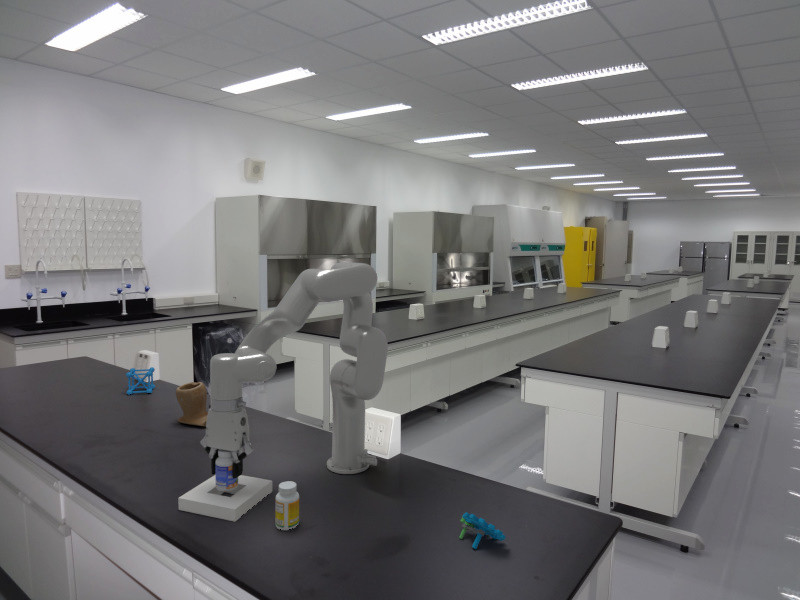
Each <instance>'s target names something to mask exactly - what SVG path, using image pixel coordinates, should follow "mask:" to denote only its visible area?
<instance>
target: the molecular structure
mask: <svg viewBox="0 0 800 600" xmlns="http://www.w3.org/2000/svg"><path fill="white" fill-rule="evenodd" d="M155 370H156V369H155V367H152V366H151V367H149V368H148V369H147V368H146V369H144V368H143V369H136V368H134V367H132V368H130V369H129V371H128V372H126V374H125V376H126V377H127V378H128V379H127V380H128V390H127V391H126V395H127V394H128V396H131V395H133V394H138V393H140V394H142V393H144V394H145V393H146V394H147V393H151V394H153V390H155V388H156V385H155V384H154V373H155ZM136 372H141V373H136ZM143 372H144V373H143ZM145 372H146V373H145ZM139 376H143V377H142V378H141V377H139ZM145 379H147V382H146V381H145ZM135 380H136V381H137V383H136V384H135ZM139 385H142V386H139ZM136 389H146V390H136ZM135 390H136V391H135ZM130 394H131V395H130Z"/></svg>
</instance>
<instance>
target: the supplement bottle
mask: <svg viewBox="0 0 800 600" xmlns="http://www.w3.org/2000/svg"><path fill="white" fill-rule="evenodd" d="M297 488H298V487H297V483H296V481H295V482H294V481H291V480H290V481H288V480H287V481H282V482H280V483H279V484H278V492H277V494H276V495H275V508H274V509H275V512H274V513H275V516H274V517H275V519H274V520H275V521H274V523H275V528H276V529H278V530H280V529H281V531H290V530H289V529H291V530H293V529H296V528H297V527H298V526H297V525H299V524H300V494H299V492H298V491H297ZM296 526H297V527H296ZM292 528H293V529H292Z"/></svg>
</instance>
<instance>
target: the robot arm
mask: <svg viewBox="0 0 800 600" xmlns="http://www.w3.org/2000/svg"><path fill="white" fill-rule="evenodd" d="M377 283H378V274H377V271H376V269H375V268H374V267H373V266H372V265H370V264H368V263H364V262H351V261H342V262H337V263H334V264H333V265H332V266H331V268H328V269H325V268H324V269H322V268H308V269H305V270H302V272H300V274H299V275H298V276H297V278H296V279H295V281H294V282H293V283H292V285H291V286H290V287H289V289H288V290H287V292H286V293H285V295H284V296H283V297H282V299H281V300H280V302H279V303H278V305H276V307H275V308H274V310H273V311H272V312H271V313H269V314H268V315H267V316H265V317H264V318H262V320H261V321H260V322H258V323H257V324H256V325H255V326H254V327H253V328H252V329H250V331H249V332H248V333H247V334H246V336H245V337H244V339H243V340H242V342H241V343H240V344H239V346H238V347H237V349H236V350H235V352H234V353H232V352H229V353H228V352H227V353H226V352H224V353H218V354H215V355H212V357H211V358H210V361H209V362H210V363H209V370H210V371H209V377H210V379H209V387H210V388H209V390H210V391H209V393H210V394H209V396H210V403H209V405H210V404H211V408H210V409H209V408H208V412H207V413H208V416H207V422H206V426H205V435H204V437H203V438H202V439H201V440H200V441H199V443H200V445H201V446H202V447H203V449H205V452H206V453H207V454H208V458H209V459H210V460H211V462H210V463H211V464H210V465H211V466H210V467H211V468H210V469H211V475H213V476H214V475H216V467H215V462H216V459H217V458H218V457H219V456H218V450H219V449H221V450H227V451H232V454H233V458H234V461H235V462H234V463H233V464H232V477H233V478H235V479H236V478H237V477H239V476H240V475H242V474H243V472H244V471H243V470H244V467H243V466H244V465H243V464H244V460H245V459H246V458H247V457H248V456H249V455H250V454H251V453H252V452H254V450H255V447H254V445H252V443H251V441H250V427H249V418H248V414H247V410H246V408H245V407H246V405H247V401H244V400H243V399H244V397H243V383H263V382H267V381H269V380H270V379H272V378H273V377H274V376H275V374H276V373H277V372H276V371H277V362H276V360H275V359H274V357H272V355H270V354H269V353H267V352H268V351H269V349H270V348H271V347H272V346H273V345H274V344H275V343H276V342H277V341H278V340H280V339H282V338H283V337H286V336H288V335H291V334H293V333H296V332H298V331H300V330H301V329H302V328H303V327H304V326H305V323H306V322H307V320H308V319H309V317H310V316H312V315H311V314H312V313H313V312H314V311H315V309H316V307H317V306H318V304H319V303H320V302H324V303H334V302H338V301H339V302H340V301H342V304H343V311H342V322H341V327H340V334H339V348H340V350H341V351H342V352H343V353H345V354H347V355H349V356H351V357H355V358H356V360H355V359H354V360H353V359H349V358H348V359H341V360H338V361H337V362H336V363H334V365H333V366H332V368H331V370H330V373H329V385H330V390H331V397H332V398H331V399H332V417H331V418H332V423H331V426H332V427H331V428H332V431H331V433H332V437H331V438H332V439H331V440H332V441H331V443H332V445H331V446H332V447H331V457H329V458H328V460H327V461H326V468H327V469H328V470H329V471H330V472H334V473H335V474H342V475H354V474H358V473H359V474H360V473H362V472H364V471H366V470H367V469H368V468H370V466H375V467H377V465H378V459H377V456H376V455H371V454H369V453H368V452H369V450H368V449H365V437H366V402H365V401H370V400H373V399H375V398H376V397H377V396H378V395H379V394H380V392H381V389H382V387H383V384H384V379H385V378H384V377H385V372H386V365H387V364H386V363H387V358H388V348H389V345H388V340H387V336H386V334H385V333H384V332H383V331H382V330H381V329H380V328H378V327H377V326H376V327H375V326H372V323H373V312H374V311H373V310H374V305H373V299H372V296H371V292H372V291H373V290H374V289H375V287H376V286H377ZM243 447H244V449H245V450H244V449H243Z"/></svg>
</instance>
